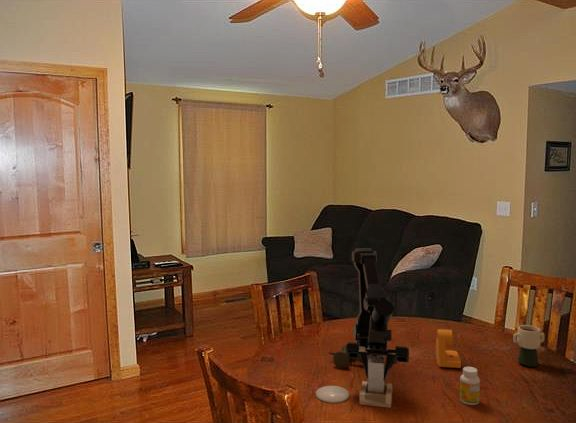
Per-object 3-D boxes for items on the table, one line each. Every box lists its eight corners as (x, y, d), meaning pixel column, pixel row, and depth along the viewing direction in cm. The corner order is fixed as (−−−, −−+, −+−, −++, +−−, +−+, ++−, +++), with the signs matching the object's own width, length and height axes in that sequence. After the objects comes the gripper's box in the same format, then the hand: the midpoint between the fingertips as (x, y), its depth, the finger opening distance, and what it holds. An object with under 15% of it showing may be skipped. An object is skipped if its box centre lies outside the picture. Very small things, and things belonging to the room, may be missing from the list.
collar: (362, 390, 148) (362, 381, 148) (392, 393, 146) (392, 384, 146) (359, 404, 139) (359, 394, 139) (390, 407, 137) (391, 397, 137)
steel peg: (369, 394, 145) (369, 356, 144) (384, 396, 144) (384, 357, 143) (367, 401, 141) (368, 362, 140) (383, 403, 140) (383, 363, 139)
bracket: (461, 370, 162) (462, 336, 161) (439, 368, 163) (439, 334, 162) (456, 358, 173) (457, 325, 172) (435, 356, 174) (436, 324, 173)
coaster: (309, 392, 147) (309, 390, 147) (335, 384, 152) (335, 383, 152) (329, 406, 138) (329, 404, 138) (355, 397, 144) (355, 395, 144)
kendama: (379, 376, 159) (323, 365, 168) (386, 366, 168) (332, 356, 176) (380, 359, 159) (323, 348, 167) (386, 350, 167) (332, 340, 176)
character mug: (537, 360, 170) (538, 324, 168) (549, 368, 163) (550, 331, 161) (507, 360, 169) (508, 325, 168) (517, 369, 162) (519, 332, 161)
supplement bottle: (456, 397, 143) (457, 365, 142) (473, 396, 143) (474, 365, 143) (464, 406, 138) (465, 373, 137) (482, 405, 138) (483, 372, 137)
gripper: (346, 316, 147) (341, 365, 137) (409, 320, 142) (408, 371, 132) (349, 333, 155) (345, 380, 145) (409, 337, 150) (408, 386, 141)
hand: (375, 379), depth 141 cm, fingers closed on steel peg, 4 cm apart
